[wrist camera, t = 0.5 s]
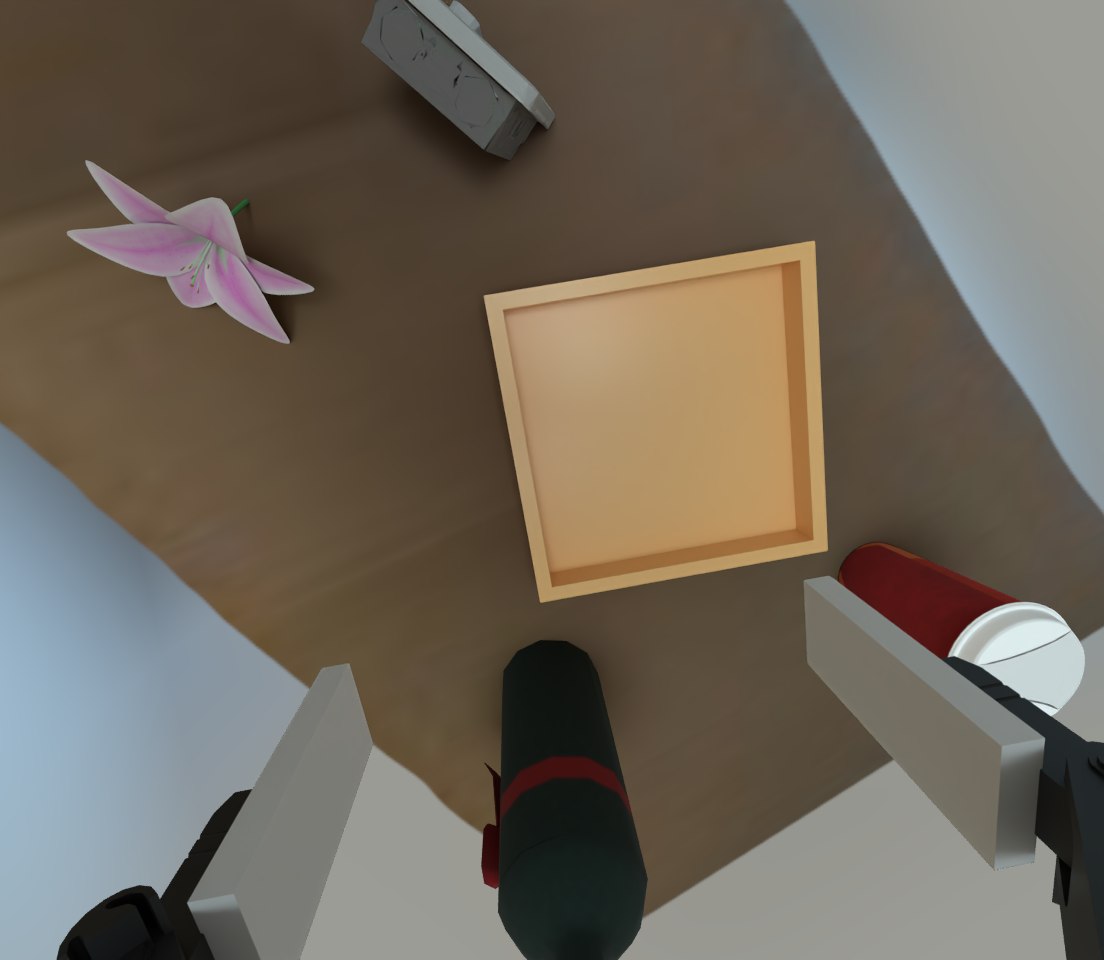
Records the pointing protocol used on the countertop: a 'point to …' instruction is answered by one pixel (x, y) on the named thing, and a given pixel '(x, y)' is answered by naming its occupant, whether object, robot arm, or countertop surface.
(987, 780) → the robot arm
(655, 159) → the countertop surface
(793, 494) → the wooden tray
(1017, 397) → the countertop surface
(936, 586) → the paper cup
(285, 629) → the countertop surface
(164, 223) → the lily
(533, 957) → the wine bottle
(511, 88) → the electrical switch
